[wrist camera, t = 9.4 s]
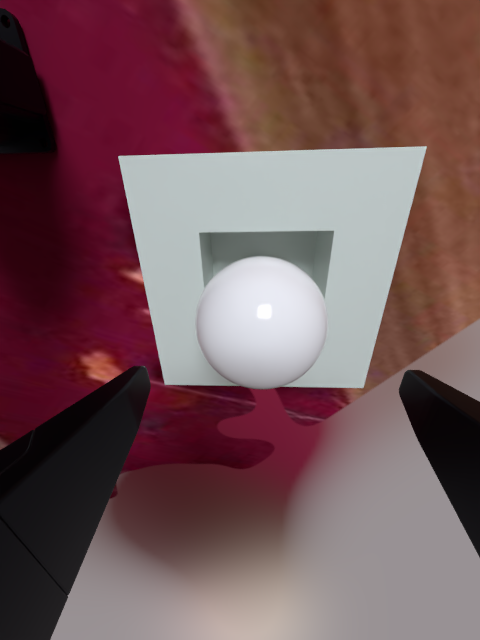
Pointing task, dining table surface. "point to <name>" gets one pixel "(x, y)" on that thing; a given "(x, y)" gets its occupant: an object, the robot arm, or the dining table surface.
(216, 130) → the dining table surface
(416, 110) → the dining table surface
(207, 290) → the lightbulb
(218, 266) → the socket block
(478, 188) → the dining table surface
